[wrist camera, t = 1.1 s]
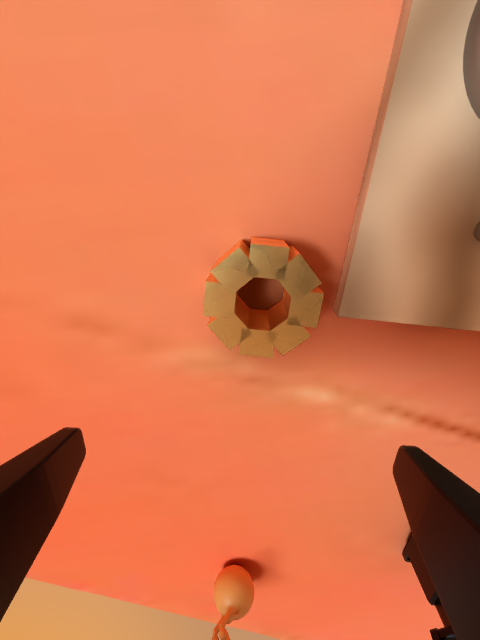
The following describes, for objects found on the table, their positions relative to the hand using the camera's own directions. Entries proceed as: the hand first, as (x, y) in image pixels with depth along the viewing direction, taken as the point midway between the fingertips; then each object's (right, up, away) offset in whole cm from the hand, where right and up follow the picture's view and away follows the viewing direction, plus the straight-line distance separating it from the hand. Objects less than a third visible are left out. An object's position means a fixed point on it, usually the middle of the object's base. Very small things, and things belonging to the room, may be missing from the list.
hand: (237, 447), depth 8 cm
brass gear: (+2, +6, +11) cm, 12 cm away
